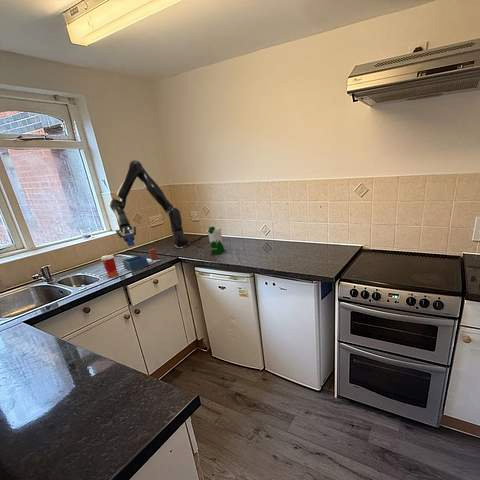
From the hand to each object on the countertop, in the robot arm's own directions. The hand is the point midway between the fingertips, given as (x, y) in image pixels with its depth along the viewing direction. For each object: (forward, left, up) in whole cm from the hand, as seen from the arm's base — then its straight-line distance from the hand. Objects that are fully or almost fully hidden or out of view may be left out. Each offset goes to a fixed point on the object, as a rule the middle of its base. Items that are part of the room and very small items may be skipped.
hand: (129, 240), depth 213 cm
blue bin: (+3, +6, -18) cm, 19 cm away
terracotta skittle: (-12, +4, -18) cm, 22 cm away
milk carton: (-45, +40, -18) cm, 63 cm away
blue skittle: (-1, -2, -4) cm, 5 cm away
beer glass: (+21, +11, -18) cm, 30 cm away
